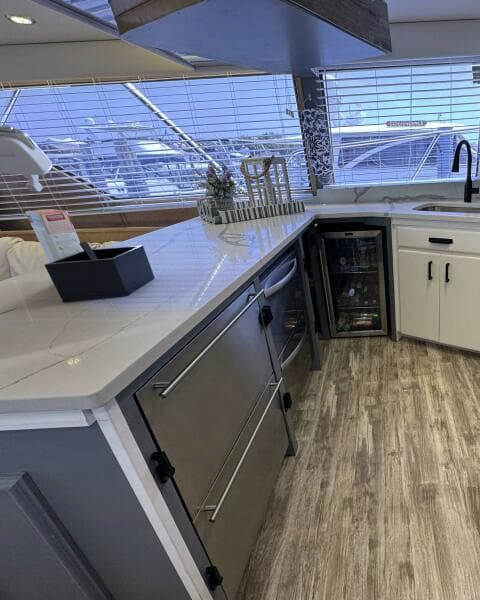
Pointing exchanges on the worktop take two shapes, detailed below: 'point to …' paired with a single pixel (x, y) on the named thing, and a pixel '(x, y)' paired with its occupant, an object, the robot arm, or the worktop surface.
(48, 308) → the worktop surface
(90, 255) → the red white rounded piece
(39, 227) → the cracker box
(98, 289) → the black open box
